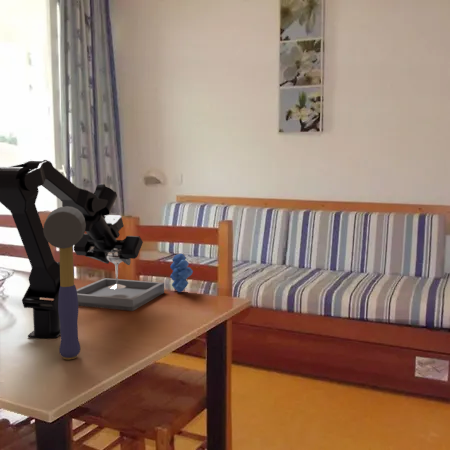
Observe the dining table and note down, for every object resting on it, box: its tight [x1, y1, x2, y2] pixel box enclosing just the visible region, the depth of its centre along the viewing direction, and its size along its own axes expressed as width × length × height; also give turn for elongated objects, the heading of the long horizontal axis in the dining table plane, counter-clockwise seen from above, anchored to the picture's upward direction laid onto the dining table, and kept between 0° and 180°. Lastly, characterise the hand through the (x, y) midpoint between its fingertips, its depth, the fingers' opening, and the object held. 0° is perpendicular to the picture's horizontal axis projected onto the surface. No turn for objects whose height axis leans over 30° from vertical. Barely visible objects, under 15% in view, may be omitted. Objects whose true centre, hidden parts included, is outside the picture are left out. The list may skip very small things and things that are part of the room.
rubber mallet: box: [43, 206, 86, 361], centre depth 99 cm, size 12×8×30 cm, turn 13°
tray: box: [76, 277, 165, 312], centre depth 145 cm, size 20×20×3 cm
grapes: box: [169, 253, 194, 293], centre depth 152 cm, size 12×7×12 cm, turn 24°
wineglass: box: [104, 248, 126, 289], centre depth 144 cm, size 7×7×12 cm
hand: (118, 263), depth 145 cm, fingers closed on wineglass, 6 cm apart
